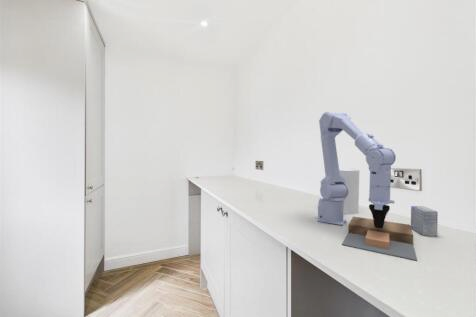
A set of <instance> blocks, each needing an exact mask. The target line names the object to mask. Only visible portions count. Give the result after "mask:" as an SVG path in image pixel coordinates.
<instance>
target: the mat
mask: <svg viewBox="0 0 476 317" xmlns="http://www.w3.org/2000/svg"><path fill="white" fill-rule="evenodd" d="M365 238H366V236H363V235H358V234H352V233H348V232H347V234H346V235H345V238H344V239H343V241H342V243H341V245H342V246H345V247H350V248H354V249H357V250H358V249H360V250H363V251H368V252H373V253H378V254H382V255H387V256H392V257H396V258H401V259H405V260H410V261H416V262H417V261H418V258H417V255H416V249H415V246H414V244H413V245H412V244H407V243H401V242H396V241H390V240H389V249H385V248H380V247H375V246H370V245H365Z"/></svg>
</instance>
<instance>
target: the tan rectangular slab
mask: <svg viewBox="0 0 476 317" xmlns="http://www.w3.org/2000/svg"><path fill="white" fill-rule="evenodd" d="M365 245H370V246H375V247H380V248H385V249H389V233H384V232H378V231H372V230H368V231H367V234H366V238H365Z"/></svg>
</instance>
